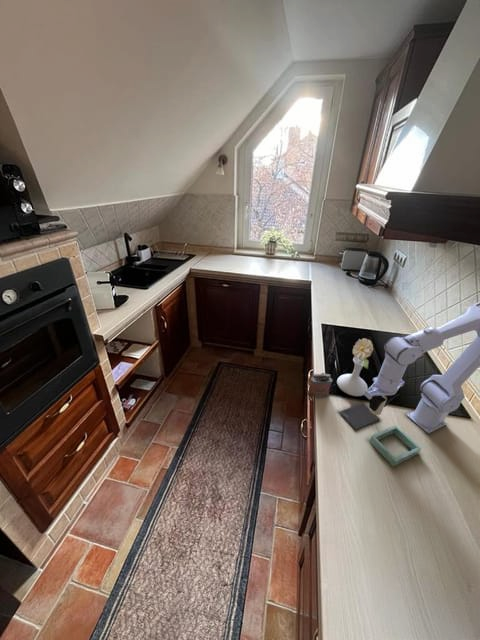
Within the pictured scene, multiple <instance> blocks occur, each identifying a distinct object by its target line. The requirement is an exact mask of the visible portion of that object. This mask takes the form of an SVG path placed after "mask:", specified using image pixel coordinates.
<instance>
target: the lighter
mask: <svg viewBox="0 0 480 640" xmlns="http://www.w3.org/2000/svg"><path fill="white" fill-rule="evenodd" d="M332 383H333V379H332V377H331V374H329V373H325V372H321V373H313V375H312V376H311V377H310V382H309V387H308V390H307V396H309V397H311V398H326V397H328V396H329V392H330V388H331V385H332Z"/></svg>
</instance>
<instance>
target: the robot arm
mask: <svg viewBox="0 0 480 640" xmlns="http://www.w3.org/2000/svg"><path fill="white" fill-rule="evenodd" d="M473 331H475V332H476V335H477V336H476V337H475V338H474V339H473V340H472V342H470V344H469V345H468V346H467V347H466V348H465V349H464V350H463V352H462V353H461V354H460V355H459V356H458V357H457V358H456V360H455V361H454V362H453V363H452V364H451V365H450V366H449V367H448V368H447V369H446V371H445V372H444V373H443V374H432V375H431V376H430V377H429V378H427V379H425V380H424V381H423V382H422V383H421V384H420V387H419V390H420V391H421V393H420V396H421V398H420V400H419V402H418V404H417V406H416V408H415V409H414V411H411V412H409V413H407V414H406V416H407V417H408V418H409V419H410V420H411V421H413V422H414V423H415V424H416V425H417V426H418V427H420V428H421V429H422V430H423V431H425V432H426V433H427V434H430V433H432V432H435V431H436V430H438V429H441V428H442V427H445V426H446V425H447V423H446V422H445V420H446V418H447V417H448V415H449V414H450V413H452V412H454V411H456V410H457V409H459V408H460V406H461V403H462V401H463V400H464V399H465V398H466V395H465V393H464V390H463V386H462V385H464V383H465V382H466V381H468V380H469V378H470V377H471V376H472V375H473V374H474V373H475V372H476V371H477V370H478V369H479V368H480V301H478V302H476V303H474V304H473V305H470V306H469V307H468V308H467V309H466V311H465V312H464V314H462V315H460V316H457V317H456V318H454V319H452V320H450V321H448V322H446V323H444V324H442V325H439V326H438V327H437V328H435V327H431V326H428V327H425V328H423V329H421V330H418V331H416V332H413V333H411V334H409V335H406V336H404V337H403V336H394V337H391V338H390V339H389V340H388V341H387V342H386V343H385V344H384V346H383V348H384V351H385V353H384V360H383V362H382V365H381V368H380V370H379V373H378V375H377V376H376V377H373V378H372V381H373V383H372V385H371V386H369V387H368V389H367V390H366V391H365V394H364V395H363V396H364V397H365V398H367V399H368V408H369V409H370V408H371V409H372V410H373V411H376V410H377V409H378V408H379V406H380V405H381V404H382V403H383V402H384V401H386V399H384V398H383V397H382V395H385V396H386V397H387V401H386V403H385V405H384V408H385V407H387V406H388V404H389V403H390V402H391V401H393V399H395V398H396V397H398V396H400V394H401V393H400V391H399V390H400V388H402V387H404V385H405V383H406V382H405V381H404V380H403V376H404V374H405V372H406V370H407V368H408V366H409V365H411V364H413V363H415V362H416V361H417V359H419V358H421V357H422V356H423V354H424V353H428V352H431V351H432V350H434V349H435V350H436V349H437V348H439V347H442V346H443V344H444V341H446V340H449V339H452V338H454V337H457V336H460V335H464V334H467V333H470V332H473Z"/></svg>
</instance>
